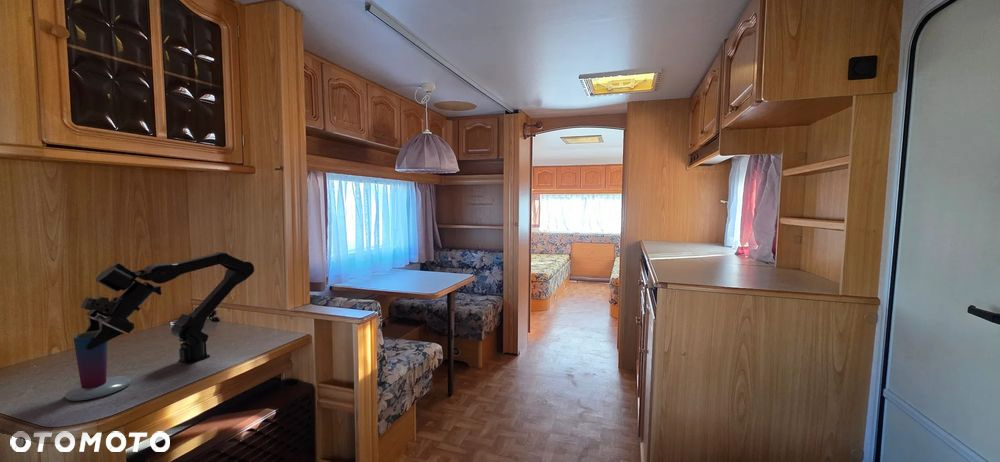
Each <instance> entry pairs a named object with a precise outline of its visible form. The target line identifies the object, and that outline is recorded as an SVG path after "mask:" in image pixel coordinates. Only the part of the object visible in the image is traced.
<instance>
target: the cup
mask: <svg viewBox="0 0 1000 462" xmlns="http://www.w3.org/2000/svg"><path fill="white" fill-rule="evenodd" d="M98 331H99V330H98ZM98 331H90V332H85V331H84V332H82V333H78V334H75V335H73V337H72V338H73V343H74V350H75V355H76V362H77V368H78V375H79V380H80V385H81V387H82V388H93V387H97V386H100V385H103V384H104V383H106V378H108V377H107V376H108V375H107V369H108V341H107V342H105V343H103V344H101V345H99V346H97V347H95V348H93V349H91V350H89V349H86V347H87V345H88V344H89V343H90V341H91V340H92V339H93V338H94V336H95V335H96V334H97V332H98Z"/></svg>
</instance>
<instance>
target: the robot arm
mask: <svg viewBox="0 0 1000 462" xmlns="http://www.w3.org/2000/svg"><path fill="white" fill-rule="evenodd" d="M218 265H220V266H222V267H223V268H225V269H226V271H225V274H224V276H223V279H222V280H221V281H220V282H219V283H218V284H217V285H216V286H215V288H214V289H213V290H212V291H211V292H210V293H209V294H208V295H207V296H206V297H205V298H204V300H202V301H201V303H200V304H199V305H198V306H197V307H196V308H195V309H194V310H193V311H192V312H190V313H189V314H185V313H182V314H181V315H180V316H179V317H178V319H177V320H176V321H174V322H172V327H171V329H170V331H171V335H172V336H173V338H176V339H177V340H178V341H179V342H181V343H180V348H179V349H178V350H179V351H178V352H179V359H178V362H181V363H186V364H193V363H196V362H198V361H201V360H204V359H207V358H209V357H211V355H210V354H208V353H207V352H208V351H207V341H208V338H209V335H208V334H206V333H205V332H203V329H204V327H205V324H206V321H207V319H208V317H210V315H211V314H213V312H214V311H215V310H216V309H217V307H219V305H220V304H221V303H222V302H223V301H224V300H225V299H226V297H228V295H230V293H231V292H232V291H233V290H234V289H235V287H236V286H238V285H239V284H241V283H242V282H245V281H246V280H247V279H249V278H250V277H251V276H252V275H253V274H254V272H255V266H254V264H253V263H252V262H250V261H245V260H242V259H239V258H236V257H235V256H231V255H230V254H228V253H227V252H221V251H217V252H214V253H210V254H207V255H203V256H199V257H195V258H190V259H186V260H182V261H178V262H177V261H176V262H164V263H163V262H162V263H153V264H150V265H147V266H145V268H144V269H140V270H136V271H132V270H130V269H128V268H127V267H125V266H124V265H123V264H121V263H119V262H115V263H114V264H113V265H111V266H109V267H108V268H107V269H105V270H102V271H101V272H100V273H99V274H98V275H97V276H96V277H95V279H94V280H95V282H97V283H98V284H101V285H102V286H104V287H106V288H108V289H110V290H112V291H114V292H119V291H123V292H122V293H121V294H120V295H119V296H118V297H117V296H114V297H112V299H109V298H108V297H103V296H99V297H91V296H86V297H85V298H84V299H83V302H82V304H81V306H80V308H81V309H83V310H87V311H88V312H87V313H86V314H85V315H86V316H87V320H88V326H87V327H86V330H85V331H84V333H85V332H90V331H98V330H99V331H98V332H97V334H96V335H95V336H94V338H93V339H92V340H91V341H90V343H89V344H88V345H87V347H86V349H89V350H91V349H93V348H95V347H97V346H99V345H101V344H103V343H105V342H107V343H108V342H109V341H111V340H113V339H115V338H117V337H119V336H121V335H124V334H125V333H127V334H130V333H131V332H132V331H133V330H134V329H135V323H133V322H132V321H130V320H129V319H128V318H130V316H132V315H133V314H134V313H135V312H136V311H137V312H139V311H141V309H142V307H141V306H142V304H143V303H144V302H145V301H146V300H148V298H149V297H150V296H151V295H152V294H156V295H158V296H161V295H163V294H162V290H161V289H162V286H160V285H153V284H165V283H167V282H171V281H173V280H174V279H177V278H179V277H181V276H183V275H184V274H187V273H190V272H194V271H199V270H202V269H206V268H209V267H210V268H211V267H214V266H218ZM139 280H141V281H143V282H141V281H139ZM150 282H151V283H153V284H151V283H150Z"/></svg>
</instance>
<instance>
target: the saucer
mask: <svg viewBox="0 0 1000 462" xmlns="http://www.w3.org/2000/svg"><path fill="white" fill-rule="evenodd" d="M131 383H132V381H131V377H130V376H127V375H126V376H125V375H117V376H116V375H115V376H110V377H106V383H104V384H103V385H100V386H97V387H93V388H82V387H81V384H79V385H77V386H75V387H73V388H71V389H70V390H68V391H67V392H66V393H65V399H66V400H68V401H71V402H72V401H73V402H74V401H77V402H78V401H86V400H87V401H88V400H92V399H96V398H97V399H98V398H101V397H105V396H108V395H111V394H114V393H116V392H119V391H121V390H123V389H125V388H126V387H128V386H129V385H130V384H131Z"/></svg>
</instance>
